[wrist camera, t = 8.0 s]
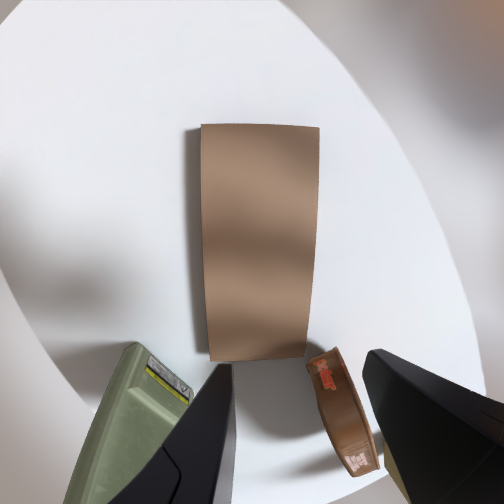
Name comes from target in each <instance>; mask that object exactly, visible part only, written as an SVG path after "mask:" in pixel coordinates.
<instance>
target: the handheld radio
mask: <svg viewBox="0 0 504 504" xmlns="http://www.w3.org/2000/svg"><path fill="white" fill-rule="evenodd" d="M193 397H194V392H193V390H192V388H190V387H189V386H188V385H187V384H186V383H184V382H183V381H182V380H181V379H180V378H178V377H177V376H176V375H175V374H174V373H173V372H171V371H170V370H169V369H168V368H167V367H166V366H165V365H164V364H162V363H161V362H160V361H159V360H158V359H157V358H156V357H155V356H154V355H153V354H151V353H150V352H149V351H148V350H147V349H146V348H145V347H144V346H143V345H141V344H140V343H138V342H136V343H135V344H133V345H132V346H130V347H129V348H127V349H125V350H124V353H123V355H122V357H121V359H120V361H119V363H118V365H117V367H116V369H115V372H114V374H113V376H112V378H111V380H110V382H109V385H108V387H107V389H106V391H105V394H104V396H103V398H102V400H101V403H100V405H99V407H98V410H97V412H96V414H95V417H94V419H93V422H92V424H91V427H90V429H89V432H88V434H87V437H86V439H85V442H84V444H83V447H82V449H81V452H80V455H79V457H78V460H77V463H76V466H75V469H74V471H73V474H72V477H71V480H70V483H69V486H68V489H67V492H66V495H65V499H64V502H63V504H107V503H108V502H109V501H110V500H111V499H113V498H114V497H115V496H116V495H117V494H118V493H119V492H120V491H121V490H122V489H123V488H124V487H125V486H126V485H127V484H128V483H129V482H130V481H131V480H132V479H133V478H134V477H135V476H136V475H137V474H138V473H139V472H140V471H141V470H142V468H143V467H144V466H145V465H146V464H147V462H148V461H149V460H150V459H151V457H152V456H153V455H154V453H155V452H156V451H157V449H158V448H159V447H160V446H161V444H162V443H163V441H164V440H165V438H166V437H167V436H168V434H169V433H170V432H171V430H172V429H173V427H174V426H175V425H176V423H177V422H178V420H179V419H180V418H181V416H182V415H183V413H184V412H185V411H186V409H187V408H188V406H189V405H190V403H191V402H192V401H193ZM161 447H162V446H161Z"/></svg>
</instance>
